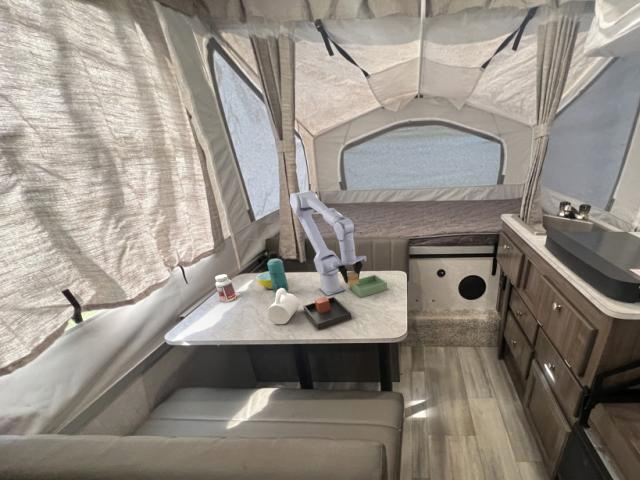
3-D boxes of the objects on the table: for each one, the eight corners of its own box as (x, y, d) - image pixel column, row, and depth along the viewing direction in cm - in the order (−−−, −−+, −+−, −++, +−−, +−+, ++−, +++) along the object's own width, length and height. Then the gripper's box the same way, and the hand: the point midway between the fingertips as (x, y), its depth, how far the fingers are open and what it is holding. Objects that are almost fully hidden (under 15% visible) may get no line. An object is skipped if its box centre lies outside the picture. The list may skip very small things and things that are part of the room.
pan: (304, 311, 126) (303, 305, 125) (334, 301, 132) (334, 296, 131) (318, 330, 113) (317, 324, 112) (351, 318, 119) (351, 313, 118)
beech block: (345, 282, 131) (343, 273, 129) (354, 280, 133) (353, 270, 131) (349, 286, 128) (348, 276, 126) (359, 283, 130) (357, 273, 128)
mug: (270, 324, 118) (262, 296, 112) (281, 310, 127) (274, 284, 121) (291, 324, 117) (284, 296, 111) (301, 311, 126) (295, 284, 121)
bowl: (289, 284, 150) (286, 272, 147) (269, 294, 142) (266, 281, 139) (274, 280, 156) (271, 268, 153) (254, 289, 147) (250, 277, 144)
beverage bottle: (277, 292, 143) (266, 250, 134) (291, 291, 144) (282, 249, 134) (273, 298, 137) (261, 255, 128) (288, 297, 138) (278, 254, 129)
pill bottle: (237, 294, 143) (229, 272, 138) (235, 300, 138) (228, 277, 132) (222, 297, 141) (214, 275, 136) (220, 303, 136) (212, 280, 131)
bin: (350, 288, 143) (349, 281, 141) (375, 281, 149) (375, 274, 147) (361, 297, 134) (360, 290, 133) (387, 289, 140) (386, 282, 139)
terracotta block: (316, 309, 126) (314, 299, 124) (326, 306, 128) (325, 296, 126) (320, 313, 122) (318, 303, 120) (330, 310, 124) (329, 300, 122)
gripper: (333, 256, 117) (338, 288, 124) (368, 248, 124) (371, 279, 130) (327, 251, 123) (332, 282, 129) (360, 244, 129) (364, 274, 135)
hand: (351, 280), depth 130 cm, fingers closed on beech block, 4 cm apart
